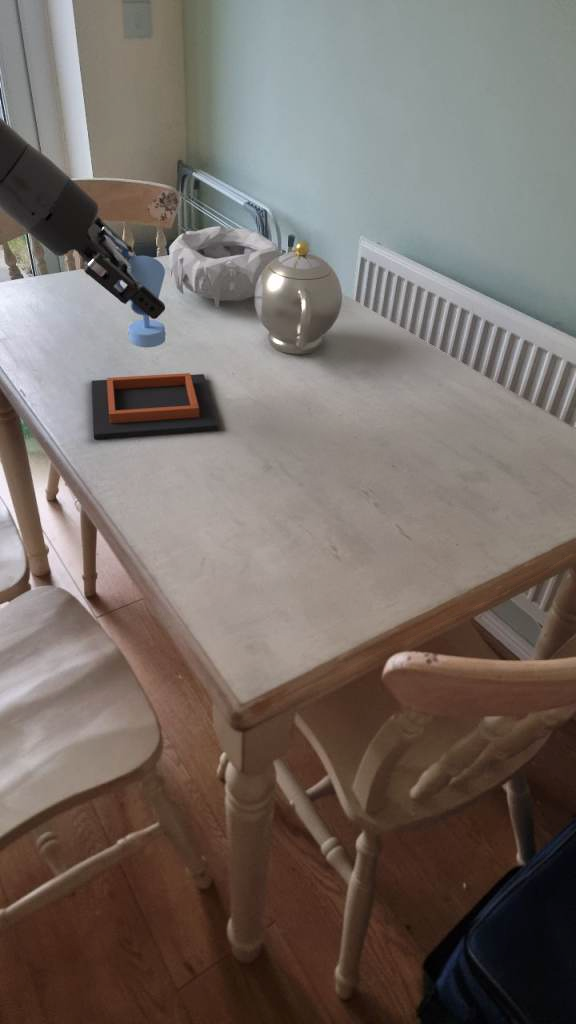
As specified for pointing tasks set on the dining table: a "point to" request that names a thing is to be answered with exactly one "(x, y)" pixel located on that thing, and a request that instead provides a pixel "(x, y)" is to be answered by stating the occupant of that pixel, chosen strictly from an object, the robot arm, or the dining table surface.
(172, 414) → the pad
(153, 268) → the spotlight
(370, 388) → the dining table surface
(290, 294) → the teapot
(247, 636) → the dining table surface
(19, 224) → the robot arm
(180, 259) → the bowl
